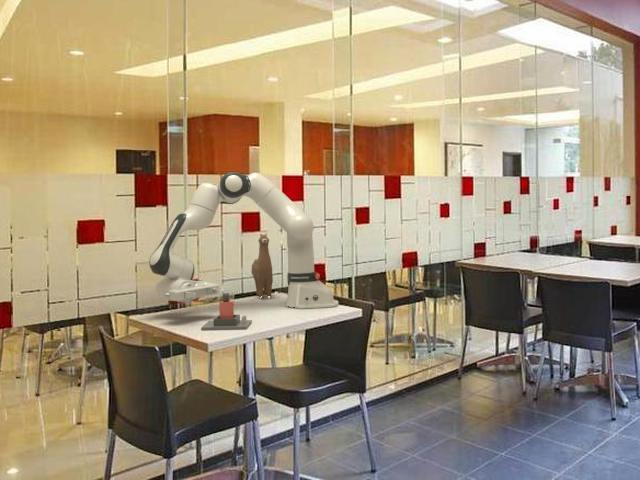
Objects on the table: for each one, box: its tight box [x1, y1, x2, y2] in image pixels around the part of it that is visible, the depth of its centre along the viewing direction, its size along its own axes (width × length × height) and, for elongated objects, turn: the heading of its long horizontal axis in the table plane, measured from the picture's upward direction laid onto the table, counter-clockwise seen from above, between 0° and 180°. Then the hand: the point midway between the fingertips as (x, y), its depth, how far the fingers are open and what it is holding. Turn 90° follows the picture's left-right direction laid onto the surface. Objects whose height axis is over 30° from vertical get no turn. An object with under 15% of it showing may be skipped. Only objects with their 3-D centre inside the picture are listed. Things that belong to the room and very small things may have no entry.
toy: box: [250, 233, 274, 298], centre depth 287 cm, size 9×20×30 cm, turn 13°
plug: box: [218, 292, 235, 319], centre depth 221 cm, size 4×4×11 cm
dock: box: [200, 314, 253, 331], centre depth 221 cm, size 16×12×4 cm
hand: (206, 293), depth 229 cm, fingers open, 8 cm apart
